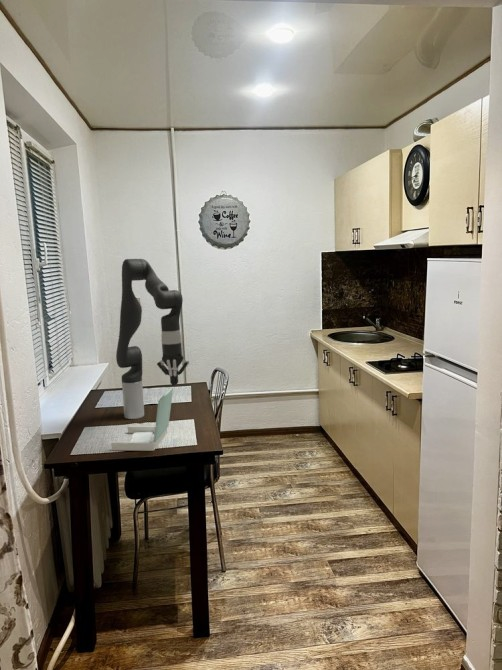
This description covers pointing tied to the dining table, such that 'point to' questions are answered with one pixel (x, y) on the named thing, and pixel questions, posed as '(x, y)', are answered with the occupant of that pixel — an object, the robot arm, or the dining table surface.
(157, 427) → the cover
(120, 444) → the drive bay
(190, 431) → the dining table surface
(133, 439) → the hard drive
